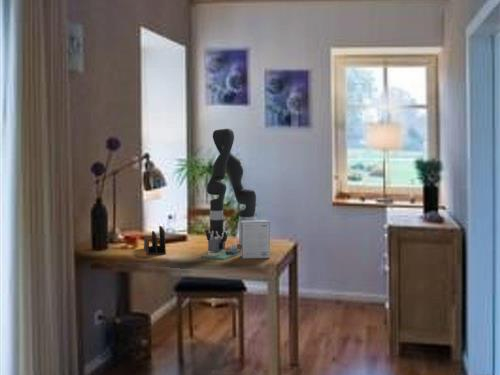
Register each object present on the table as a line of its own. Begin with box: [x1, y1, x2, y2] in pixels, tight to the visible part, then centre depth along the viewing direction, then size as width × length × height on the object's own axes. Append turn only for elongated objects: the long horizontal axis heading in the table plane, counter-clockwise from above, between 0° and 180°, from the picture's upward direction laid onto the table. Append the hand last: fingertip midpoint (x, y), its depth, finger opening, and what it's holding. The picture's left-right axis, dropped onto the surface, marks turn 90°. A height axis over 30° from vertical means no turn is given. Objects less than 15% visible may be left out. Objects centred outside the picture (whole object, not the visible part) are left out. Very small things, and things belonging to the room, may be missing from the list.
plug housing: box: [207, 237, 226, 252], centre depth 366 cm, size 10×5×6 cm, turn 150°
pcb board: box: [201, 243, 242, 261], centre depth 367 cm, size 18×14×6 cm
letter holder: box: [143, 225, 167, 256], centre depth 377 cm, size 10×20×14 cm, turn 15°
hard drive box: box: [241, 219, 271, 259], centre depth 362 cm, size 16×8×20 cm, turn 92°
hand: (216, 248), depth 366 cm, fingers closed on plug housing, 4 cm apart
